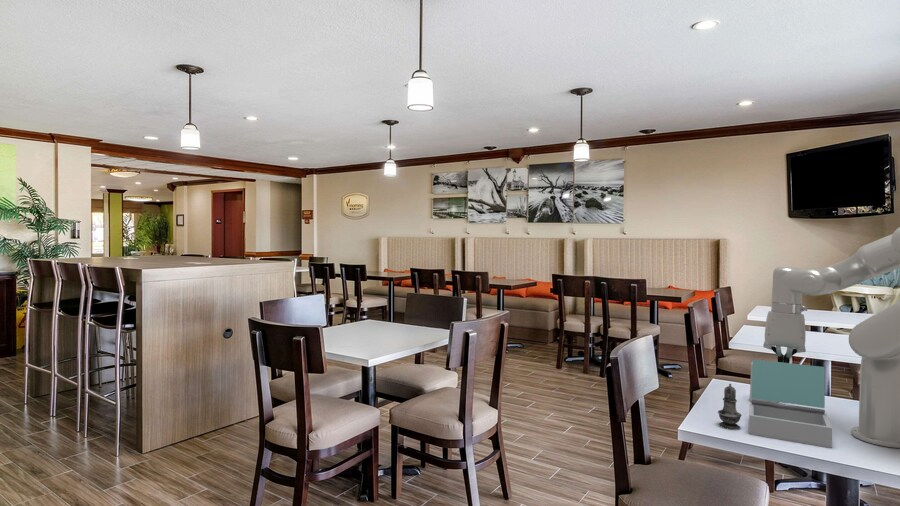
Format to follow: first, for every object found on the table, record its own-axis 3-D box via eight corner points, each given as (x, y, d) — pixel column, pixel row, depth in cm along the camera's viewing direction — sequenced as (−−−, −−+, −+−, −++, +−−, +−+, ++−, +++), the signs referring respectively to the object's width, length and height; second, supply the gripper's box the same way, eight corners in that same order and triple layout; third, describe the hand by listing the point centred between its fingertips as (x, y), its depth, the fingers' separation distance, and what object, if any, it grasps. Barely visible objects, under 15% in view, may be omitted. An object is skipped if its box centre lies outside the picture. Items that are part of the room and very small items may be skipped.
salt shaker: (744, 426, 144) (745, 383, 144) (735, 431, 141) (736, 387, 140) (722, 420, 149) (723, 379, 149) (713, 425, 145) (714, 382, 145)
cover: (824, 414, 139) (824, 414, 140) (824, 366, 141) (824, 367, 142) (751, 403, 148) (751, 403, 149) (752, 359, 150) (752, 359, 151)
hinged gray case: (826, 432, 140) (826, 414, 140) (831, 448, 130) (832, 428, 130) (749, 420, 149) (749, 403, 149) (748, 433, 139) (749, 415, 139)
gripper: (815, 309, 154) (812, 370, 155) (757, 304, 161) (754, 363, 162) (818, 312, 147) (814, 376, 148) (757, 307, 155) (754, 368, 156)
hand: (783, 369), depth 155 cm, fingers closed
